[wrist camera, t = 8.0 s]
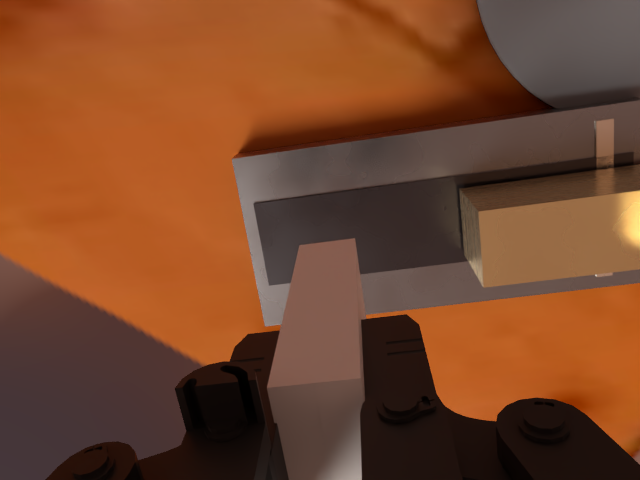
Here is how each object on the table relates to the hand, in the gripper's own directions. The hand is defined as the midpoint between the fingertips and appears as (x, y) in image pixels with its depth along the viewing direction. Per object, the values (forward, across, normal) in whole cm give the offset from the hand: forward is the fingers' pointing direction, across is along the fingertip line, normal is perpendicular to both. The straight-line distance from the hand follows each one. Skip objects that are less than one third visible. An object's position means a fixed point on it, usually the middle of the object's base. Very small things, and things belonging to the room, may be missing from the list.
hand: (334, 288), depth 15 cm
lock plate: (+8, +4, -1) cm, 9 cm away
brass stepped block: (+6, +9, -1) cm, 11 cm away
